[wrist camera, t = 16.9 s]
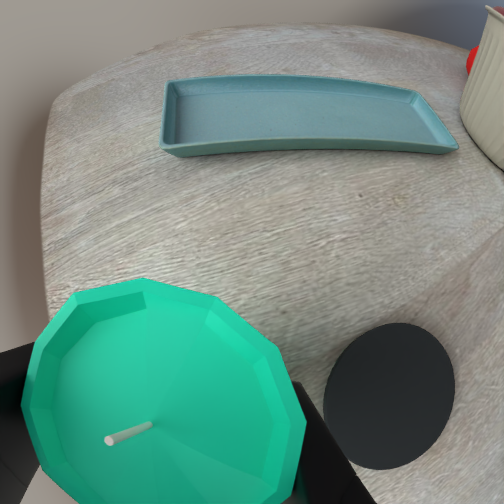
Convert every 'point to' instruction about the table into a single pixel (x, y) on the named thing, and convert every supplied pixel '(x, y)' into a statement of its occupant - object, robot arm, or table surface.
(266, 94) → the rectangular tray
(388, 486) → the table surface
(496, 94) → the canister
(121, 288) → the candle
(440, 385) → the coaster
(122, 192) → the table surface
